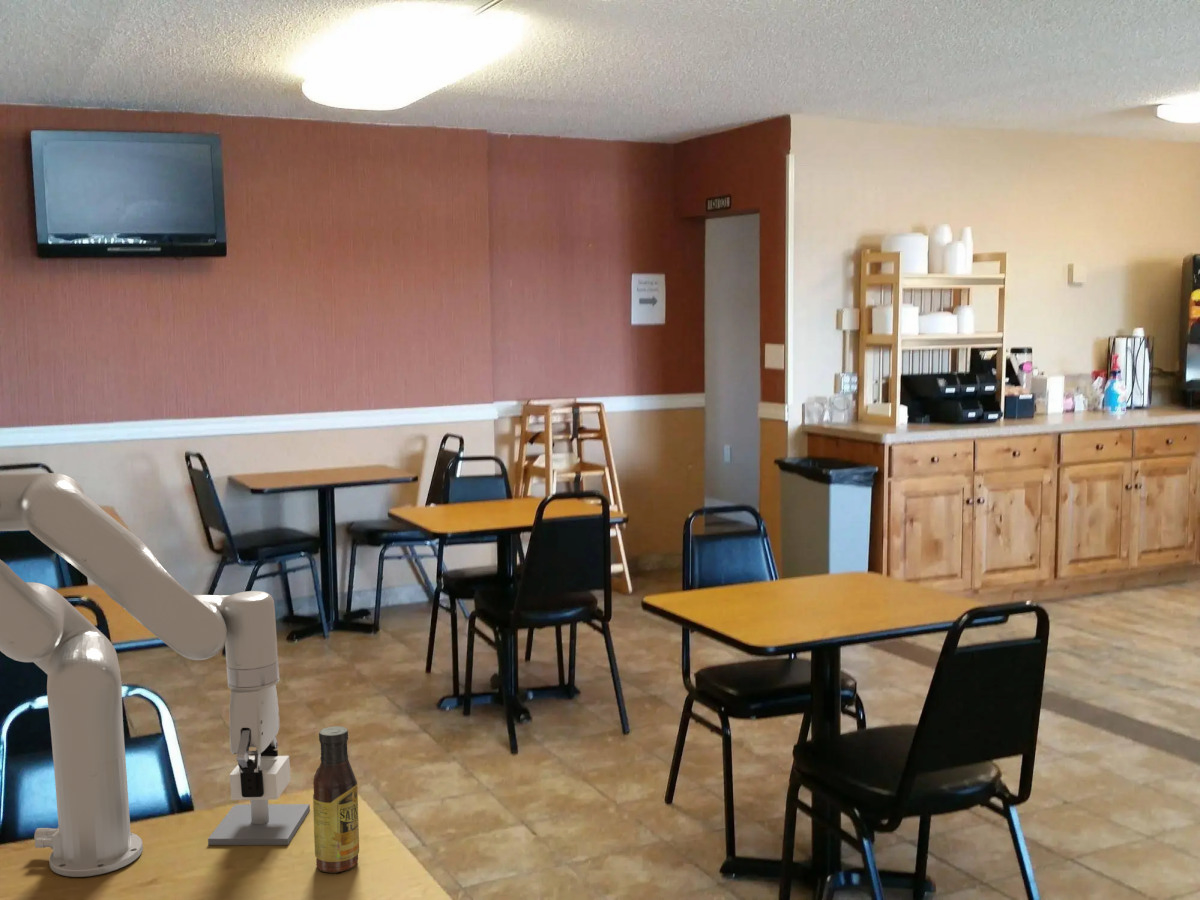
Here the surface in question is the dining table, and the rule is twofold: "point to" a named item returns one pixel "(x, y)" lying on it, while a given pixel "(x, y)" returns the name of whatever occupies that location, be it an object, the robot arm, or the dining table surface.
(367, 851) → the dining table surface
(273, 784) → the white block
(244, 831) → the post base
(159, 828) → the dining table surface
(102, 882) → the dining table surface
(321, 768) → the sauce bottle
